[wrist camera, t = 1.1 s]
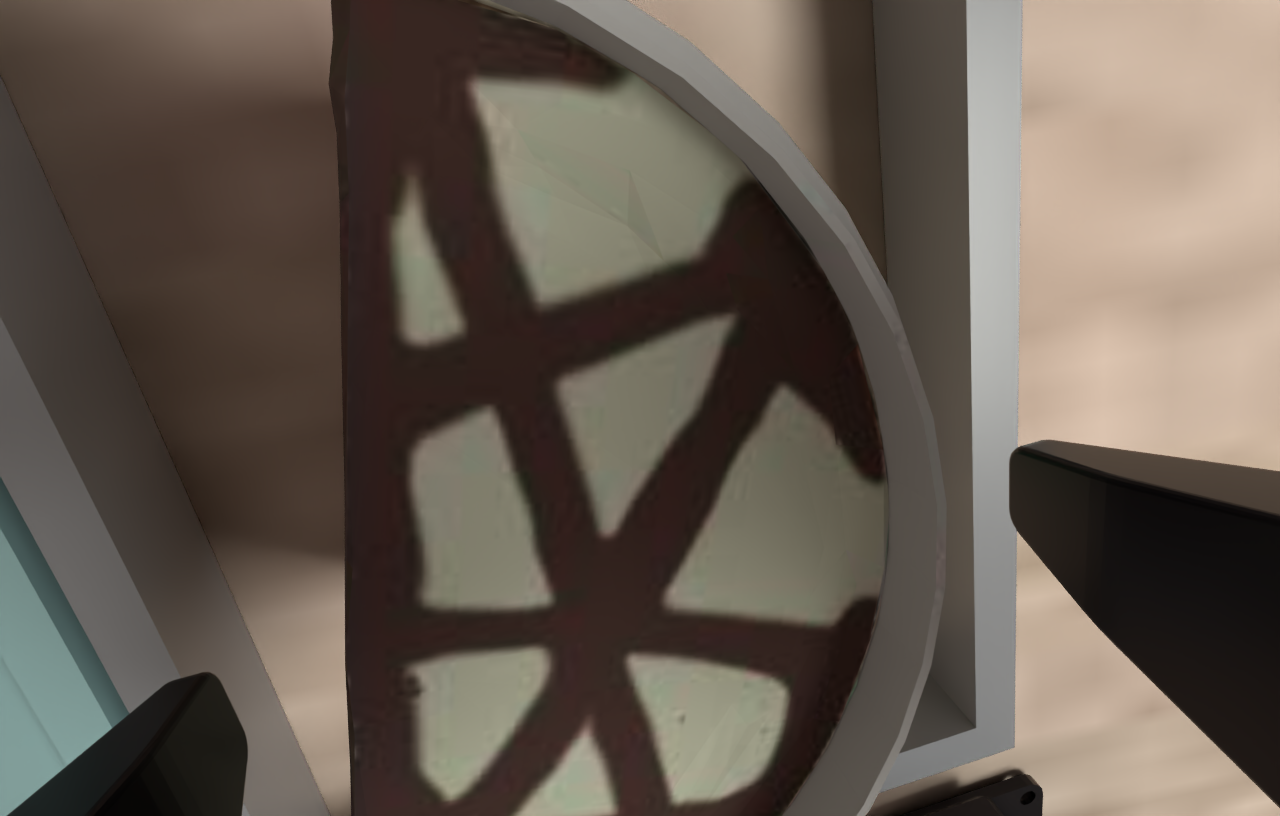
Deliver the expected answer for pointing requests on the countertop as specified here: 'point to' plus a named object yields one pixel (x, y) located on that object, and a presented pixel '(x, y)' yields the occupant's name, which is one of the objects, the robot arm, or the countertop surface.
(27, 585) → the tray
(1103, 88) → the countertop surface
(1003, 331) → the grey rectangular frame
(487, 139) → the food container
